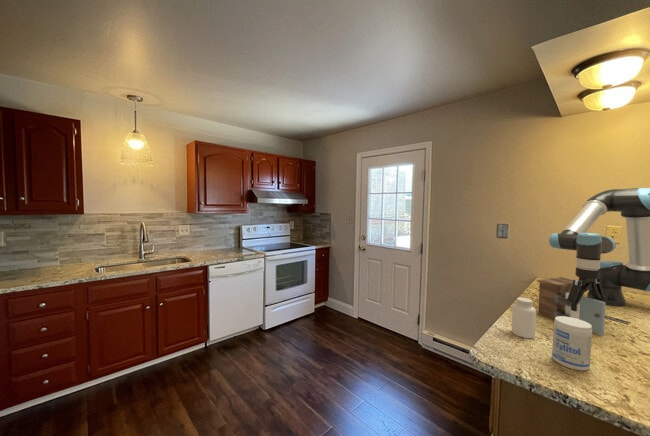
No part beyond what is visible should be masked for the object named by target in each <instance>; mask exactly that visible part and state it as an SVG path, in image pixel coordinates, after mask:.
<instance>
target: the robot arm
mask: <svg viewBox="0 0 650 436" xmlns="http://www.w3.org/2000/svg"><path fill="white" fill-rule="evenodd" d="M609 212H611V213H612V212H617V213H618V212H619V213H620V216H621V217H622V218H624V219H625V225H626V237H627V238H626V239H627V250H628V260H629V261H627V262H626V263H625V265H624V263H623V261H617V260H616V261H615V260H601V255H602V254H608V253H612V252H614V251H615V249H616V247H617V243H616V241H615V240H614V239H613V238H612V237H609V236H602V235H601V234H599V233H598V232H597V233H594V232H588V231H589V230H590V228H591V227H592V226H593V225H594V223H595V222H596V221H597V220H598V219H599V217H601V216H604V215H605V214H607V213H609ZM548 242H549V246H550V247H551V248H554V249H558V250H567V251H568V250H569V251H576V255H575V258H576V259H575V261H576V262H575V266H576V268H575V277H577V278H578V280H577V279H572V280H573V285H572V288H571V290H570V293H569V296H568V298H567V301H568V302H571V317H572V318H576V319H579V311H580V304H578V303H579V301H580V300H581V298H582V296H583V297H584V295H585V293H586V292H587V293H586V297H587V298H591V299H595V300H598V301H602V302H606V303H605V306H606V305H607V306H612V307H624V306H626V302H627V301H626V298H625V296H624V293H623V291H622V290H623V289H622V288H623V287H624V288H628V289H634V290H638V291H644V292H648V293H649V292H650V187H637V188H635V187H634V188H633V187H632V188H620V189H618V188H615V189H608V190H604V191H600V192H598V193H597V194H595V195H593V196H591V197H589V198H588V199H587V200H586V201H585V202H584V203H583V205H582V209H581V210H580V211H579V212H578V213H577V215H575V216H574V218H573V219H572V220H571V221H570V222H569V223H568V224H567V225H566V227H565V228H564V229H563V230H562V231H561V232H560V233H558V232H557V233H551V234H550V235H549V238H548Z"/></svg>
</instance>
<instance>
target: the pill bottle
mask: <svg viewBox="0 0 650 436" xmlns="http://www.w3.org/2000/svg"><path fill="white" fill-rule="evenodd" d="M533 304H534V303H533V300H532V299H530V298H528V297H517V298H516V303H515V304H513V305H512V313H511V315H512V316H511V332H512V334H513V335H515V336H518V337H520V338H524V339H534V338H535V336H536V326H537V325H536V323H537V310H536V308H535V307H533Z"/></svg>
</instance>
